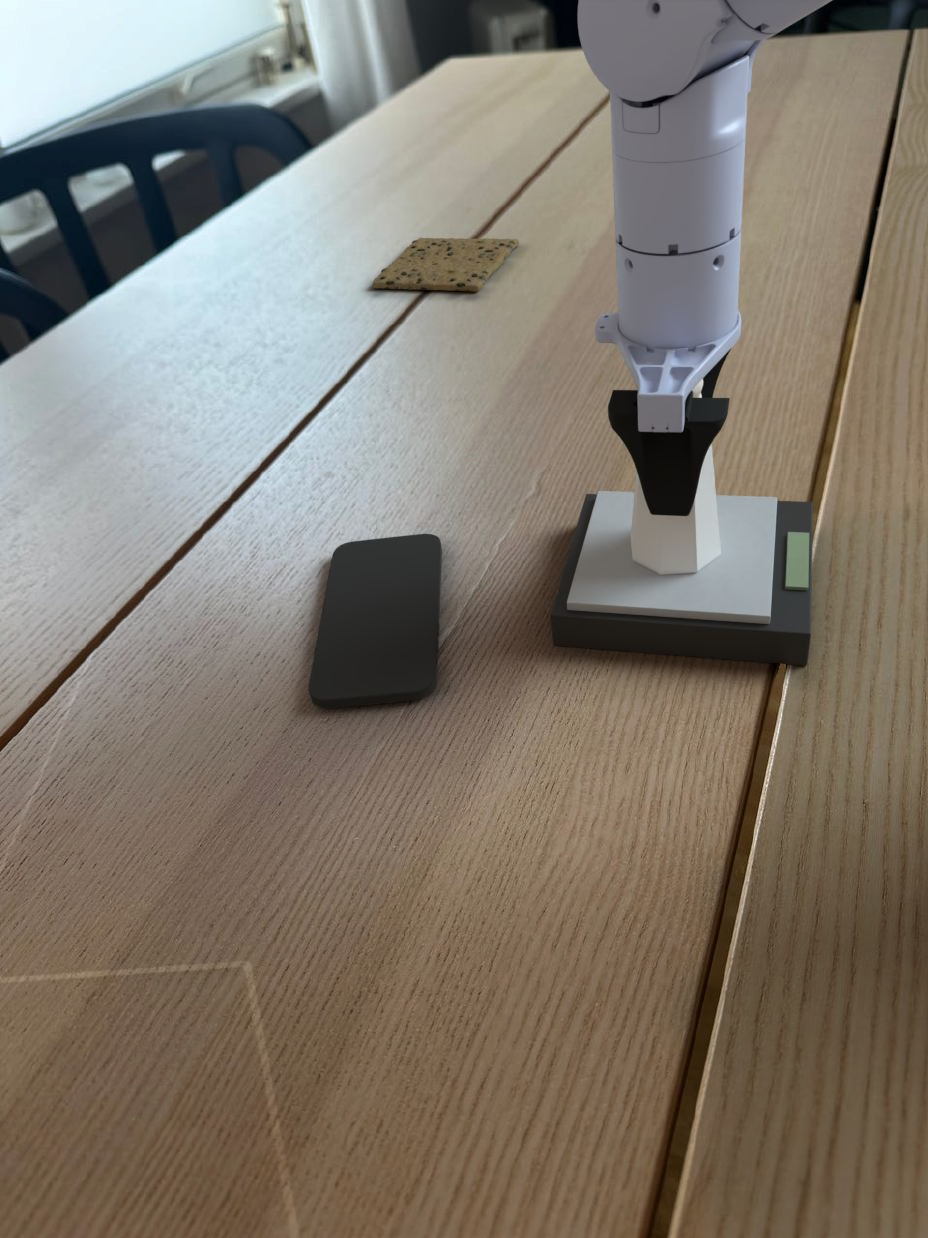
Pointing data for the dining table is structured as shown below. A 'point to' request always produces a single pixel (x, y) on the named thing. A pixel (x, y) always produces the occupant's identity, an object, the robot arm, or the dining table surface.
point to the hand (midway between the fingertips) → (676, 477)
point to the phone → (379, 623)
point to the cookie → (446, 264)
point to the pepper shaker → (678, 527)
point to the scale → (692, 586)
